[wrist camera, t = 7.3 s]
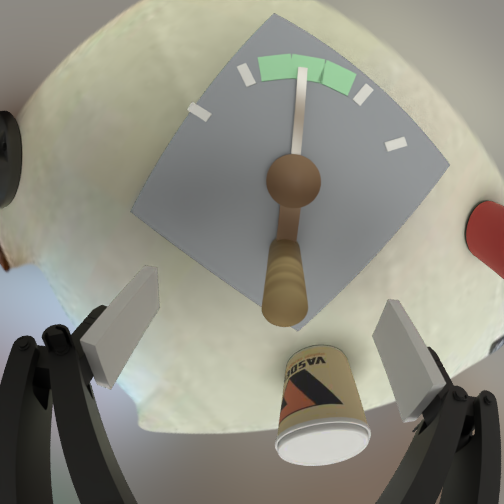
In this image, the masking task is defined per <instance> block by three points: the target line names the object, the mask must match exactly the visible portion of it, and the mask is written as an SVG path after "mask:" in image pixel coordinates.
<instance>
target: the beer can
mask: <svg viewBox="0 0 504 504" xmlns="http://www.w3.org/2000/svg"><path fill="white" fill-rule="evenodd" d="M466 239H467V244H468V247H469V250H470V251H471V253H472V254H473V255H474V256H476V257H477V258H478V259H479V260H481V261H482V262H483V263H485V264H486V265H487V266H488V267H490V268H491V269H492V270H493V271H495V272H496V273H497V274H498V275H499V276H501V277H502V278H503V279H504V206H502V205H500V204H497V203H495V202H493V201H485V202H483V203H480V204H479V205H478V206H477V207H476V208H475V209H474V211H473V212H472V214H471V216H470V218H469V221H468V224H467V231H466Z"/></svg>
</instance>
